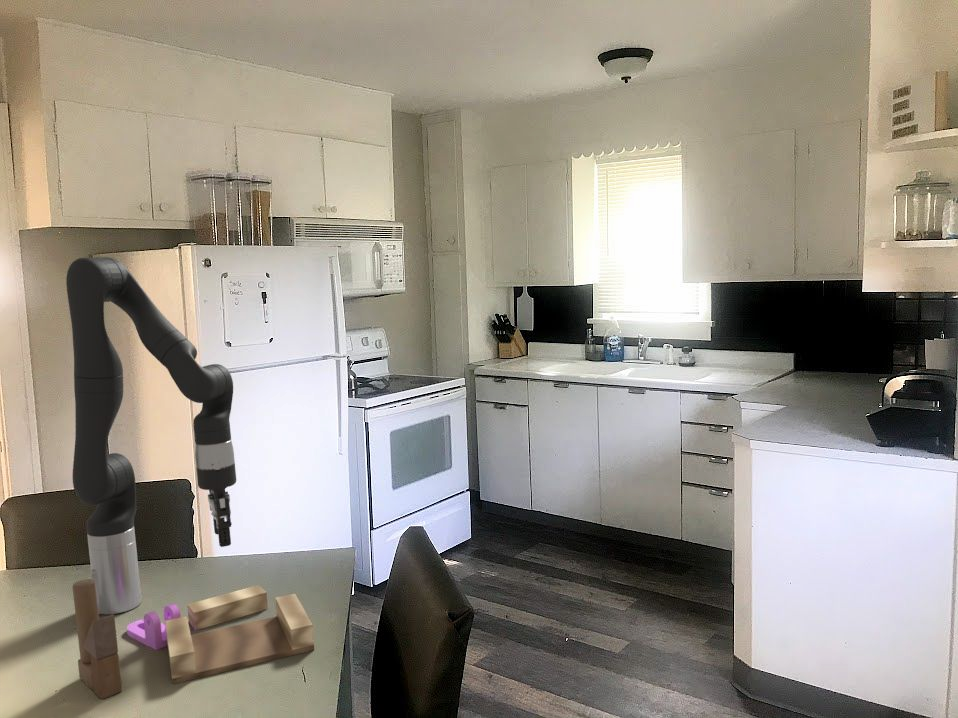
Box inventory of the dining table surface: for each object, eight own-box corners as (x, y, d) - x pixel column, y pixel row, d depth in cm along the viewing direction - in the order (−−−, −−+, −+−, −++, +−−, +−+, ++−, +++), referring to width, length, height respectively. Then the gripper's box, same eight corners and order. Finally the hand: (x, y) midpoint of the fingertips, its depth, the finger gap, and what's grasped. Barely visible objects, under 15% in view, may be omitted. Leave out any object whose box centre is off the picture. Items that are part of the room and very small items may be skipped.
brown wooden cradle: (172, 684, 139) (170, 657, 138) (167, 645, 153) (164, 620, 153) (314, 649, 149) (312, 624, 148) (296, 616, 164) (295, 593, 163)
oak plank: (195, 631, 160) (194, 612, 159) (189, 622, 164) (187, 604, 163) (268, 610, 168) (266, 592, 168) (259, 602, 172) (258, 584, 172)
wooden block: (101, 700, 135) (90, 599, 132) (79, 678, 142) (68, 582, 140) (123, 691, 137) (112, 592, 135) (100, 670, 145) (90, 576, 143)
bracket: (182, 639, 156) (179, 605, 155) (156, 651, 152) (152, 616, 151) (148, 622, 164) (145, 590, 163) (122, 633, 160) (118, 600, 159)
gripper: (192, 458, 167) (200, 533, 169) (199, 473, 154) (207, 553, 156) (229, 453, 170) (236, 526, 172) (239, 467, 157) (246, 546, 159)
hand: (222, 539), depth 164 cm, fingers open, 8 cm apart
